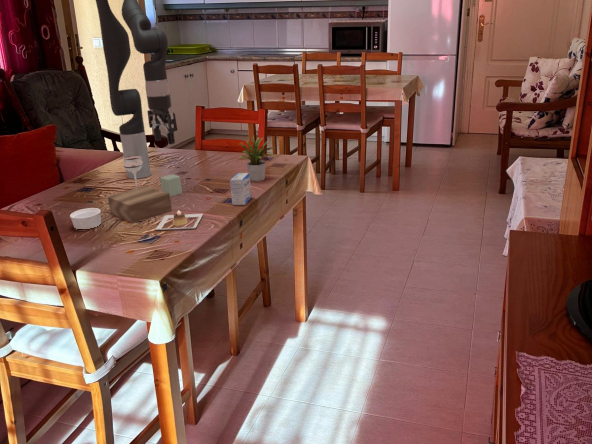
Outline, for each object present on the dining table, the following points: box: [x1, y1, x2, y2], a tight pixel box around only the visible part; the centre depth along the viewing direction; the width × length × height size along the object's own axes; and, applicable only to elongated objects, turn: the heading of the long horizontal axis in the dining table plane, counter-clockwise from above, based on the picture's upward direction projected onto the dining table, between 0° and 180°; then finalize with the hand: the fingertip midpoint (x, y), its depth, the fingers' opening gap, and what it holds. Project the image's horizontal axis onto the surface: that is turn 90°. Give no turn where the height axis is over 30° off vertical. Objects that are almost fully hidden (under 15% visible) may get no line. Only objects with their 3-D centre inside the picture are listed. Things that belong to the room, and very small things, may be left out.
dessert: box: [155, 209, 204, 231], centre depth 172 cm, size 12×12×5 cm
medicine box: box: [229, 172, 253, 206], centre depth 187 cm, size 8×4×9 cm, turn 168°
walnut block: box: [107, 185, 172, 224], centre depth 183 cm, size 14×14×6 cm
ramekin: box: [69, 207, 102, 230], centre depth 174 cm, size 9×9×4 cm
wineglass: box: [122, 155, 143, 190], centre depth 205 cm, size 7×7×12 cm
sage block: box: [159, 174, 183, 197], centre depth 200 cm, size 5×5×6 cm
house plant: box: [239, 134, 277, 182], centre depth 207 cm, size 14×14×16 cm
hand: (165, 142), depth 194 cm, fingers open, 8 cm apart
